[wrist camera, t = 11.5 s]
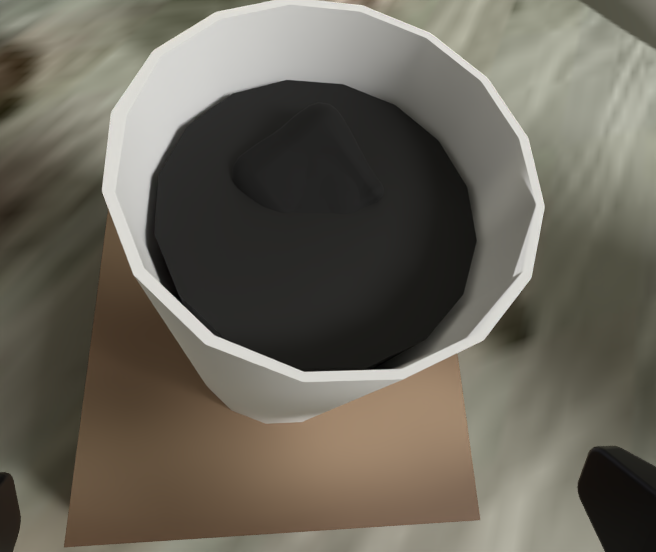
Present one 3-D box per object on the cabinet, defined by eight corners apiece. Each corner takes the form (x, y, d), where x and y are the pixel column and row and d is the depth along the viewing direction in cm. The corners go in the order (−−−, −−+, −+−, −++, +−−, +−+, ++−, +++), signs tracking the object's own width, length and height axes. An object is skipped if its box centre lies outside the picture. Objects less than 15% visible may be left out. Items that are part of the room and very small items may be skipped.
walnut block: (433, 511, 19) (480, 520, 16) (100, 532, 17) (64, 547, 14) (403, 230, 24) (434, 184, 20) (134, 219, 22) (113, 167, 18)
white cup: (137, 308, 16) (10, 90, 7) (303, 211, 19) (370, -47, 9) (254, 486, 15) (284, 502, 6) (418, 358, 17) (625, 224, 8)
